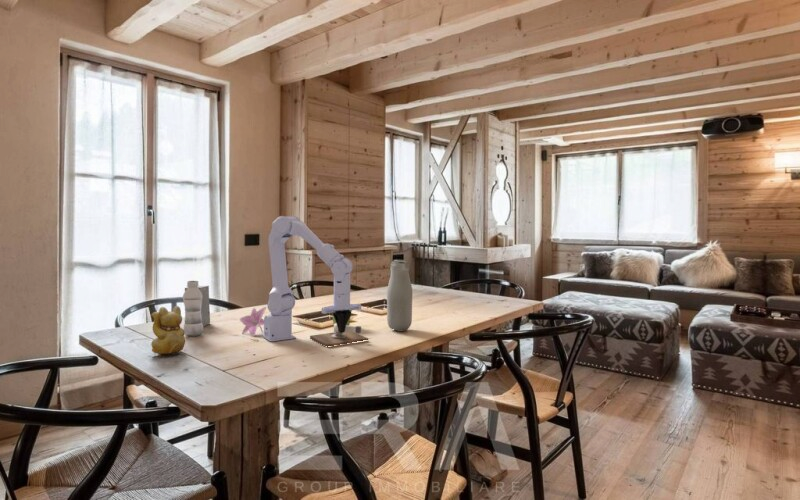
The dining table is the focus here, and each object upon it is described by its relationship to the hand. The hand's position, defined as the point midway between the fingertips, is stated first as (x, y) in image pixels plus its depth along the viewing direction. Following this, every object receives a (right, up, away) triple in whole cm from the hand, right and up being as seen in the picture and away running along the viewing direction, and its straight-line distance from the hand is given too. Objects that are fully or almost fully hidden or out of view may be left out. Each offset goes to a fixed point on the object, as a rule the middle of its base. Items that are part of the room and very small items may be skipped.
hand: (341, 331), depth 162 cm
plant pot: (-3, -3, +24) cm, 24 cm away
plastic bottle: (-55, -3, +7) cm, 55 cm away
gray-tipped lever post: (+2, -1, +3) cm, 4 cm away
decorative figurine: (-52, -4, -17) cm, 54 cm away
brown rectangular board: (-1, -4, +4) cm, 6 cm away
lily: (-34, -3, +12) cm, 37 cm away
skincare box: (-60, -2, +24) cm, 65 cm away
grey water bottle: (+20, -3, +21) cm, 29 cm away
